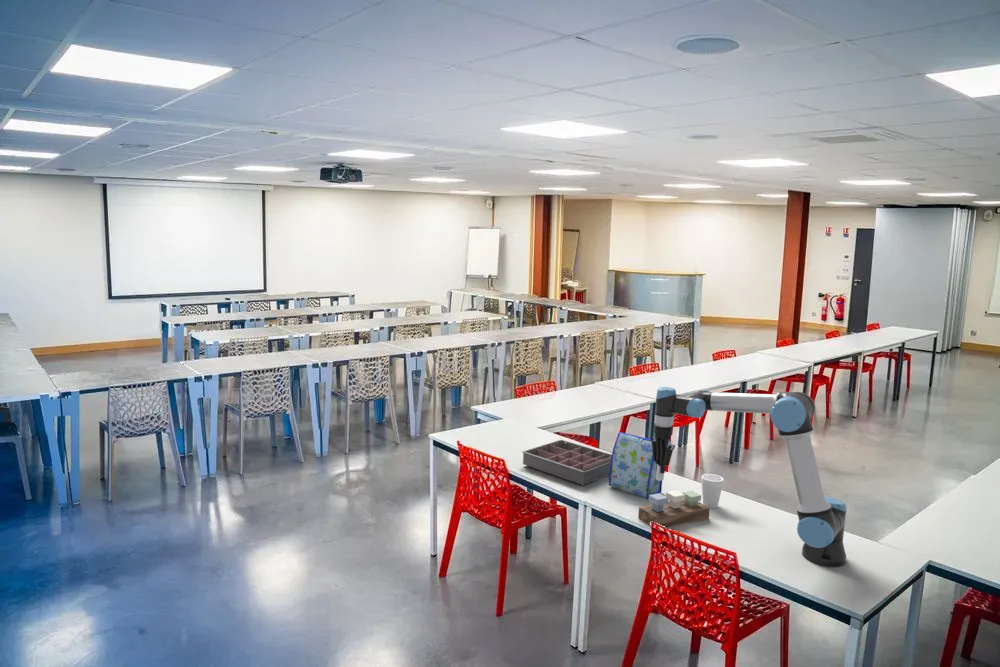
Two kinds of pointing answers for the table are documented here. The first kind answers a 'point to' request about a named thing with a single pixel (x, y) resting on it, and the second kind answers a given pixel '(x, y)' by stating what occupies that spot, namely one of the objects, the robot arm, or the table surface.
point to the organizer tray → (569, 461)
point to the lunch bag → (634, 466)
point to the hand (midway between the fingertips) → (659, 479)
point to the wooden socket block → (674, 514)
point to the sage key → (691, 498)
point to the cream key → (675, 498)
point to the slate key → (658, 501)
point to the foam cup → (711, 489)
